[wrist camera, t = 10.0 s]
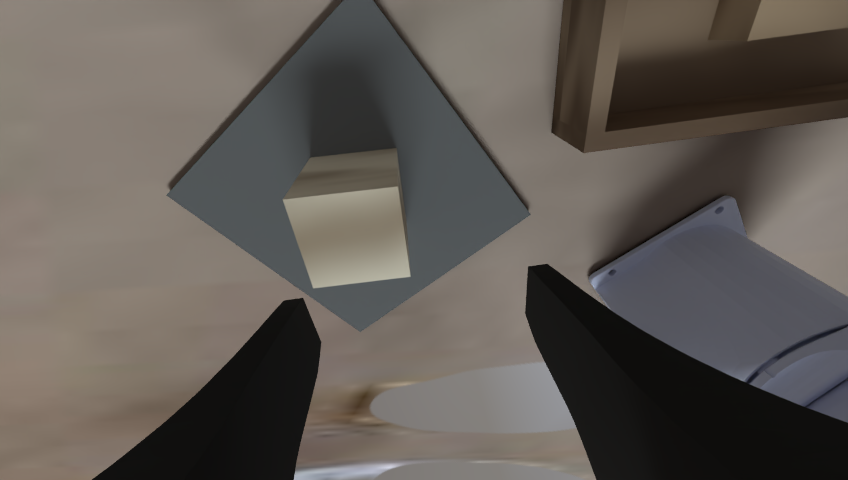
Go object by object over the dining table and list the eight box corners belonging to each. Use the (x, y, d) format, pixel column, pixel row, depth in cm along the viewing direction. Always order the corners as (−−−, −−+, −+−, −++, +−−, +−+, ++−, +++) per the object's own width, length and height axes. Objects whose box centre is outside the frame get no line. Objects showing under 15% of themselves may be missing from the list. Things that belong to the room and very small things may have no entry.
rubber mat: (360, 327, 24) (360, 331, 24) (170, 192, 18) (166, 195, 17) (528, 211, 20) (530, 214, 20) (360, -17, 14) (359, -18, 13)
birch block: (406, 223, 19) (410, 276, 15) (330, 232, 19) (313, 288, 15) (396, 147, 17) (398, 186, 13) (310, 157, 17) (282, 199, 13)
